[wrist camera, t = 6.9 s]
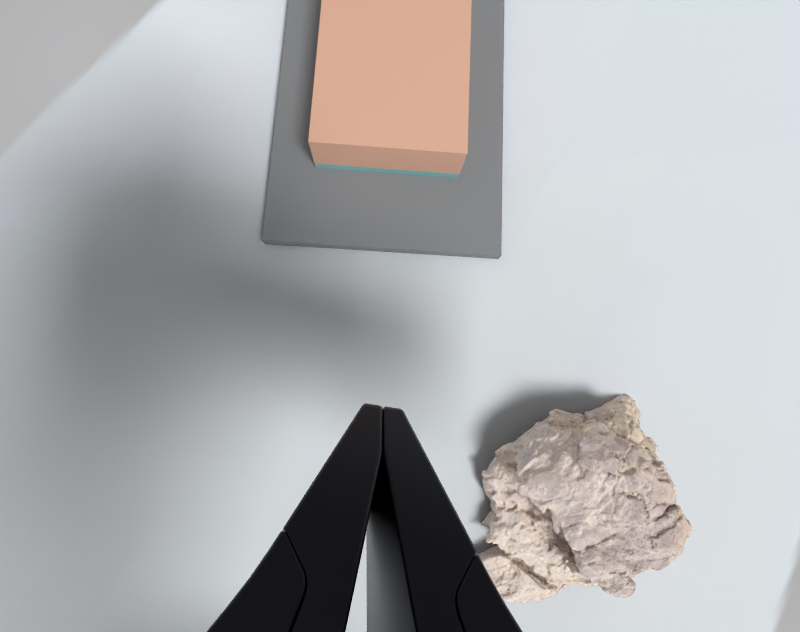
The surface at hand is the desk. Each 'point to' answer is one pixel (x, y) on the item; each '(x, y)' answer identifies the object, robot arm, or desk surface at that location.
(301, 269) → the desk surface
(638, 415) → the rock
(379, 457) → the robot arm
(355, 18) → the tile
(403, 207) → the mat
